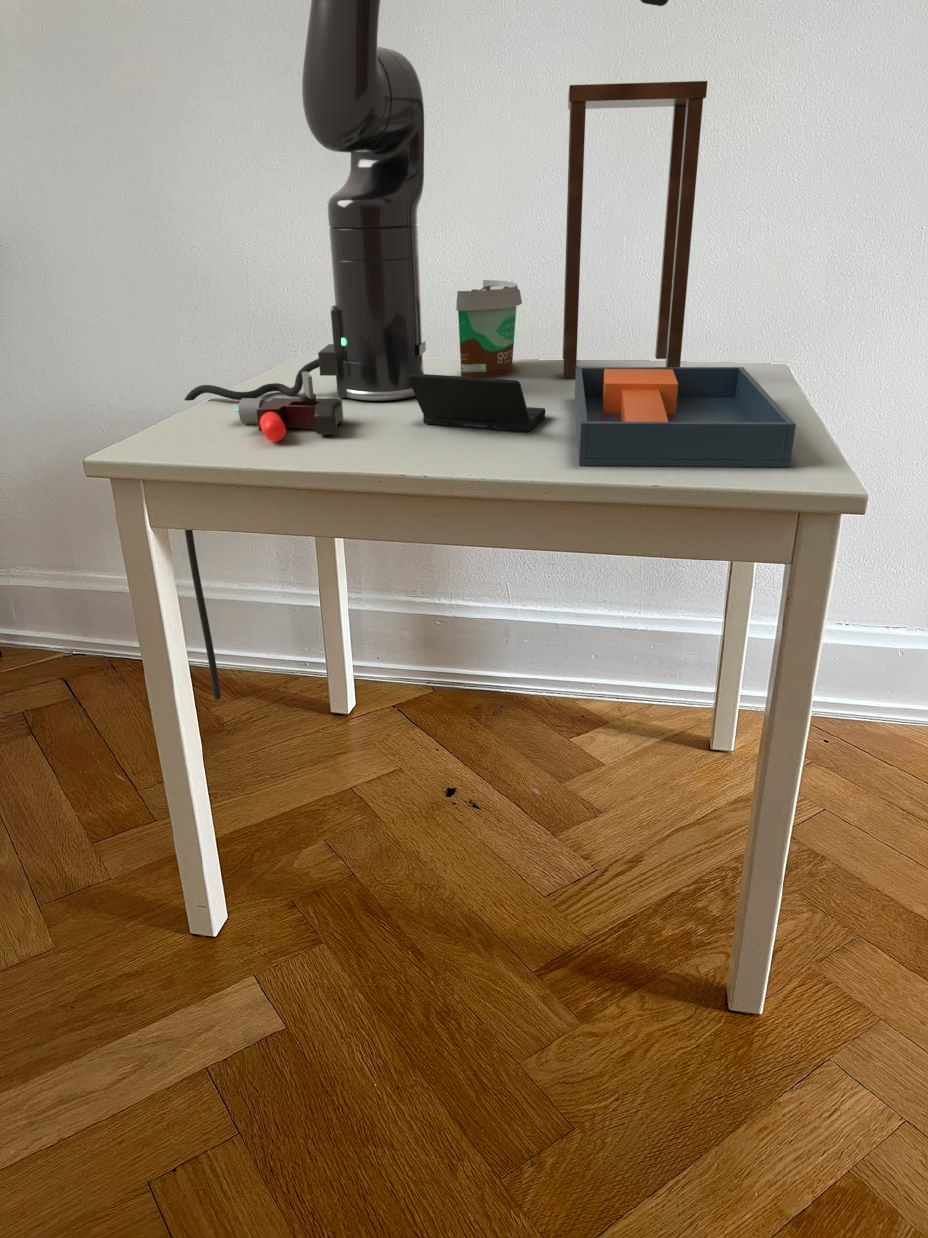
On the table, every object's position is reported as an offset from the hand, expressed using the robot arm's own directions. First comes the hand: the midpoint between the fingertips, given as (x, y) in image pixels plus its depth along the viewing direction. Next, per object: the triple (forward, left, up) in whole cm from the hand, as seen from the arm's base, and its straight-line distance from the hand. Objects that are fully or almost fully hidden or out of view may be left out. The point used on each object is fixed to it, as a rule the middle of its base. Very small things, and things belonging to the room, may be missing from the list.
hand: (662, 1), depth 67 cm
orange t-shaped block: (+1, +4, -33) cm, 33 cm away
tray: (+4, +4, -33) cm, 34 cm away
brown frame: (+1, +34, -33) cm, 47 cm away
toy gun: (-33, +2, -34) cm, 47 cm away
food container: (-14, +31, -34) cm, 48 cm away
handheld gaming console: (-14, +5, -34) cm, 37 cm away
